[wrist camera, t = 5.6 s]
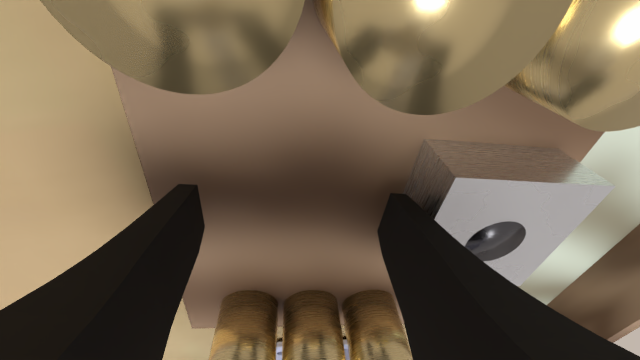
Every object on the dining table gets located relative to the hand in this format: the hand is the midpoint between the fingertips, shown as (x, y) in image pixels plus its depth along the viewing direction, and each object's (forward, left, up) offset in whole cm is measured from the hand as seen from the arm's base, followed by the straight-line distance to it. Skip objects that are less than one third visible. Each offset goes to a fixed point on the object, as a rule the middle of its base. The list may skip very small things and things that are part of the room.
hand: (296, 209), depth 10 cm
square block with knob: (0, -7, -1) cm, 7 cm away
